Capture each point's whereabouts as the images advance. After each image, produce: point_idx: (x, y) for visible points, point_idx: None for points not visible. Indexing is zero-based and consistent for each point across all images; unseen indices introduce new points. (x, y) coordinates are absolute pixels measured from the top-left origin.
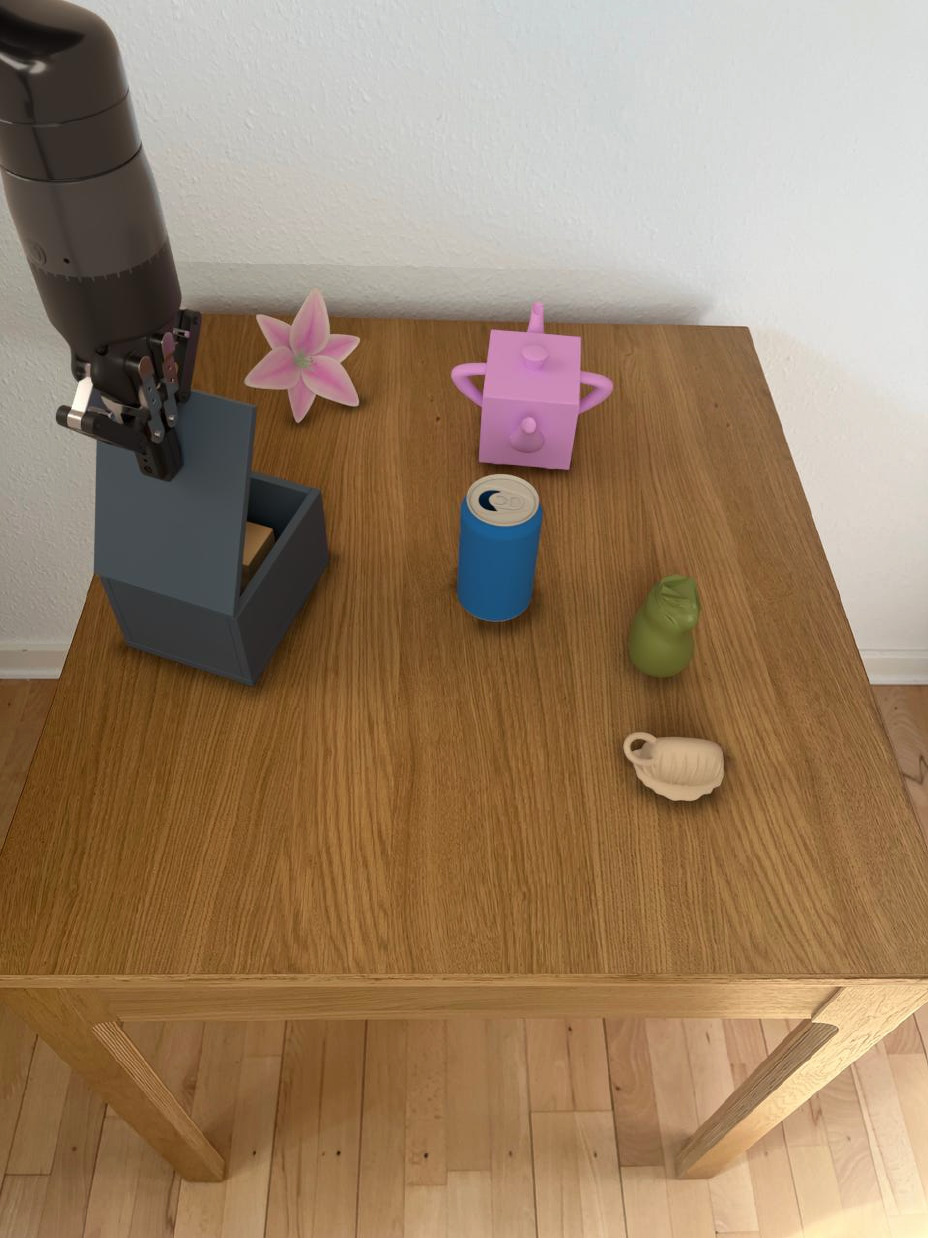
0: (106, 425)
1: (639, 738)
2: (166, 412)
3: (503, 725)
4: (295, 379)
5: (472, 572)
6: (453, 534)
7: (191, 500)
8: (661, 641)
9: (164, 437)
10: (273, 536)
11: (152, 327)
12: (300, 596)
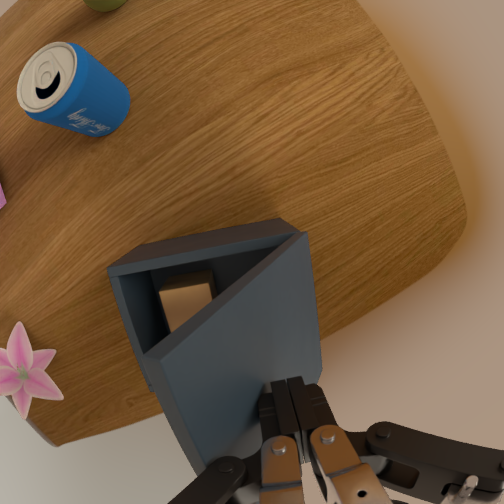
0: (484, 466)
1: None
2: (296, 462)
3: (210, 41)
4: (35, 370)
5: (109, 95)
6: (65, 176)
7: (278, 342)
8: None
9: (308, 428)
10: (162, 288)
11: None
12: (189, 236)
